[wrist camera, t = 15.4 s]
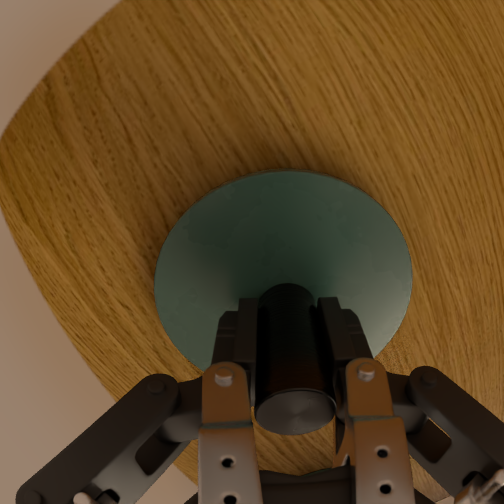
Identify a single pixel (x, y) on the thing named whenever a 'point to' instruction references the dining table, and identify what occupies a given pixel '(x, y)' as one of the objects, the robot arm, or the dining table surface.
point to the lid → (283, 281)
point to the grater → (446, 500)
